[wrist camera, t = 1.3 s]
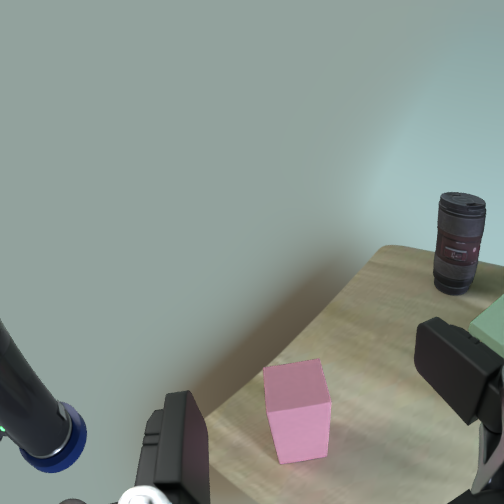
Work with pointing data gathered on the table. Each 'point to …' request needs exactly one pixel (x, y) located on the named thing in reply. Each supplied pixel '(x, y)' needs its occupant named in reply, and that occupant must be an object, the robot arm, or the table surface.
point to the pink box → (298, 410)
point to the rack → (490, 326)
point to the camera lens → (458, 241)
